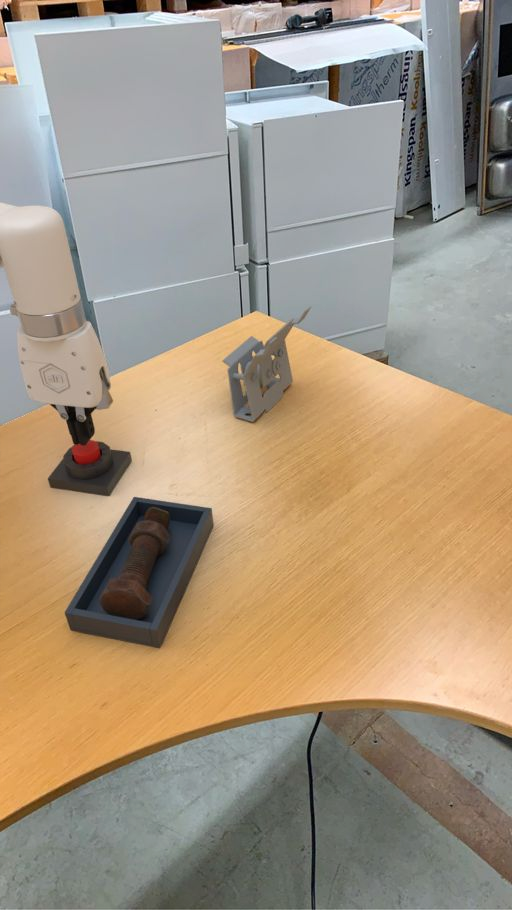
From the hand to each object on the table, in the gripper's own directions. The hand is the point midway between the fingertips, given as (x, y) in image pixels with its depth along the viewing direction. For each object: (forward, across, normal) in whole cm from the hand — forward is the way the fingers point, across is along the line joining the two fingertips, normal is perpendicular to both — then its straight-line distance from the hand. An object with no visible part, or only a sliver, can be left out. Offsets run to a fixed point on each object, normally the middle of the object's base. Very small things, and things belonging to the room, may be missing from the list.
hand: (84, 439), depth 90 cm
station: (+6, 0, 0) cm, 6 cm away
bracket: (+7, +20, +23) cm, 31 cm away
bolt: (+6, +15, -16) cm, 22 cm away
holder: (+6, +15, -16) cm, 23 cm away
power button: (+3, 0, 0) cm, 3 cm away
